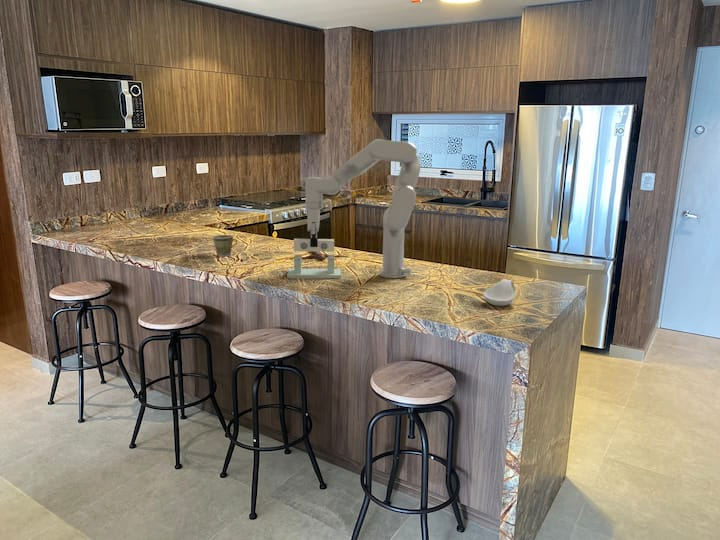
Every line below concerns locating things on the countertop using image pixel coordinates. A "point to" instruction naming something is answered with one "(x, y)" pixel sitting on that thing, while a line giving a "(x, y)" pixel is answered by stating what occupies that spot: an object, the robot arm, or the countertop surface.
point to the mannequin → (319, 255)
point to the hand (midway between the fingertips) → (314, 245)
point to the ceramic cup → (223, 245)
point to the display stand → (313, 273)
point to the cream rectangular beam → (321, 246)
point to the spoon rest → (500, 293)
